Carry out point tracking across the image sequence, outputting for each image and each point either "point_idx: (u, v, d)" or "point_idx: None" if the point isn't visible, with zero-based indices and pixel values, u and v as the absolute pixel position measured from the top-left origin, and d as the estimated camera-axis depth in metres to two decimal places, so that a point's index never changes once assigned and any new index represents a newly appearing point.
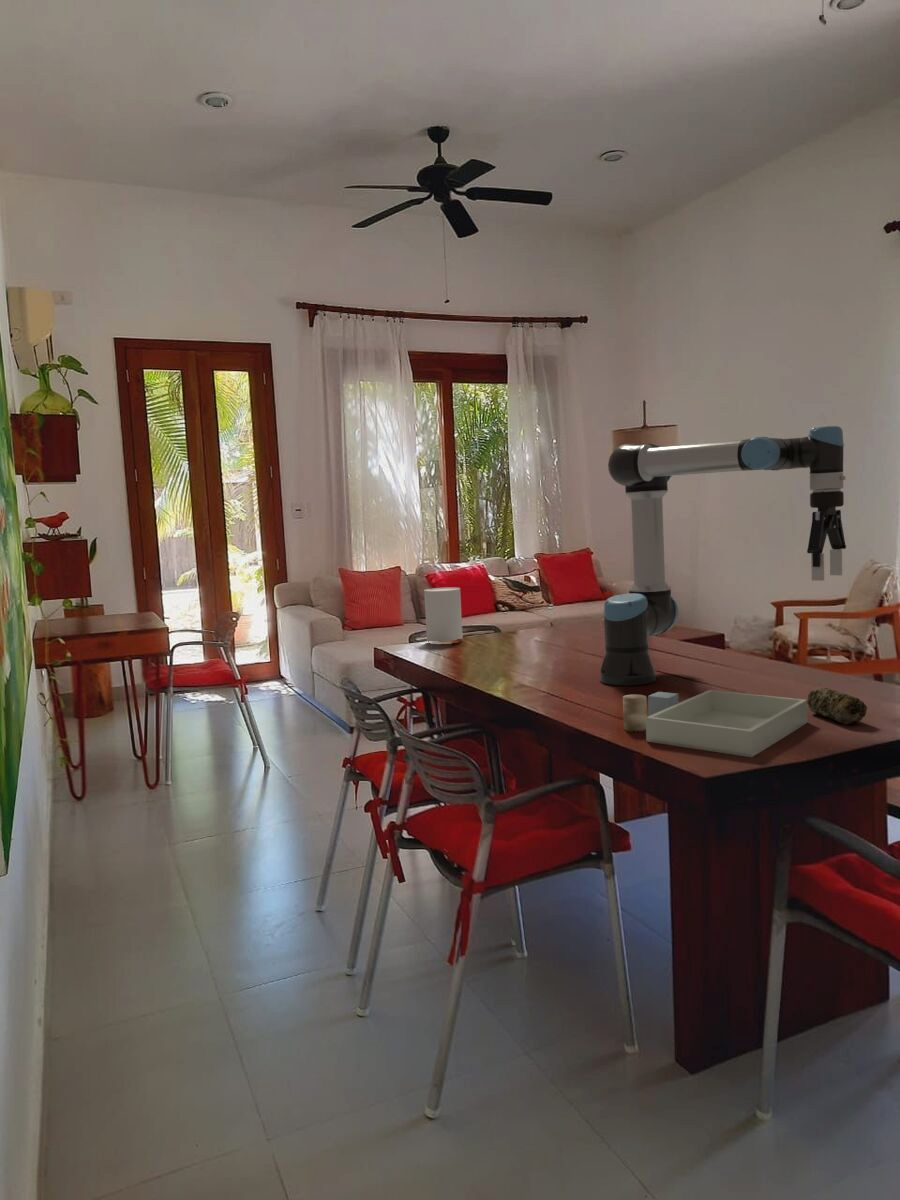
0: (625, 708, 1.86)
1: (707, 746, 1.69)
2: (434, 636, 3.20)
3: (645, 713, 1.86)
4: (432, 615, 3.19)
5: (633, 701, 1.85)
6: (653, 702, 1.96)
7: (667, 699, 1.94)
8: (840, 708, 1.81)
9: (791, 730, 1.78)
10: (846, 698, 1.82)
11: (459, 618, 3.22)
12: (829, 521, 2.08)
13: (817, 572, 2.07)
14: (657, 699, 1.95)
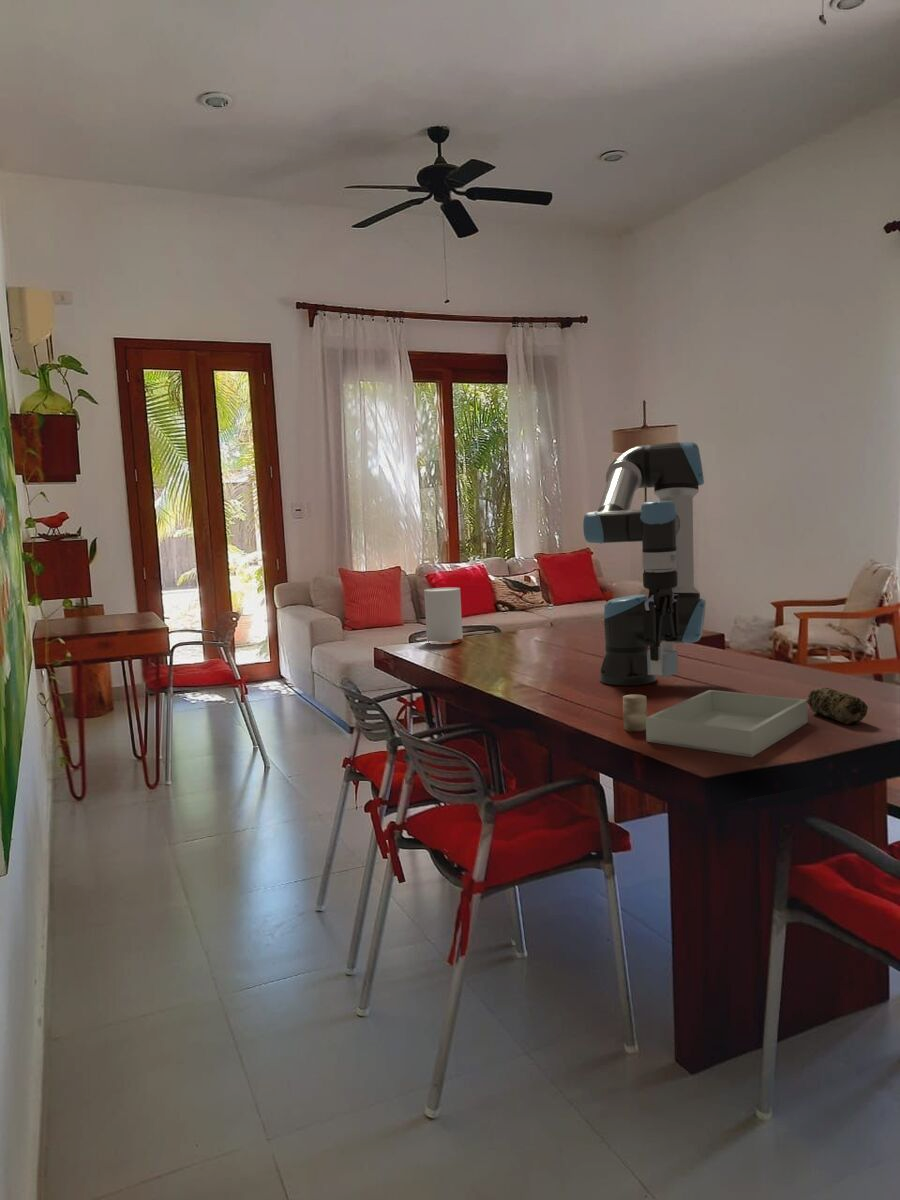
0: (625, 708, 1.86)
1: (707, 746, 1.69)
2: (434, 636, 3.20)
3: (645, 713, 1.86)
4: (432, 615, 3.19)
5: (633, 701, 1.85)
6: None
7: (666, 656, 1.93)
8: (841, 708, 1.81)
9: (791, 730, 1.78)
10: (847, 698, 1.82)
11: (459, 618, 3.22)
12: (662, 606, 1.93)
13: (655, 666, 1.94)
14: None
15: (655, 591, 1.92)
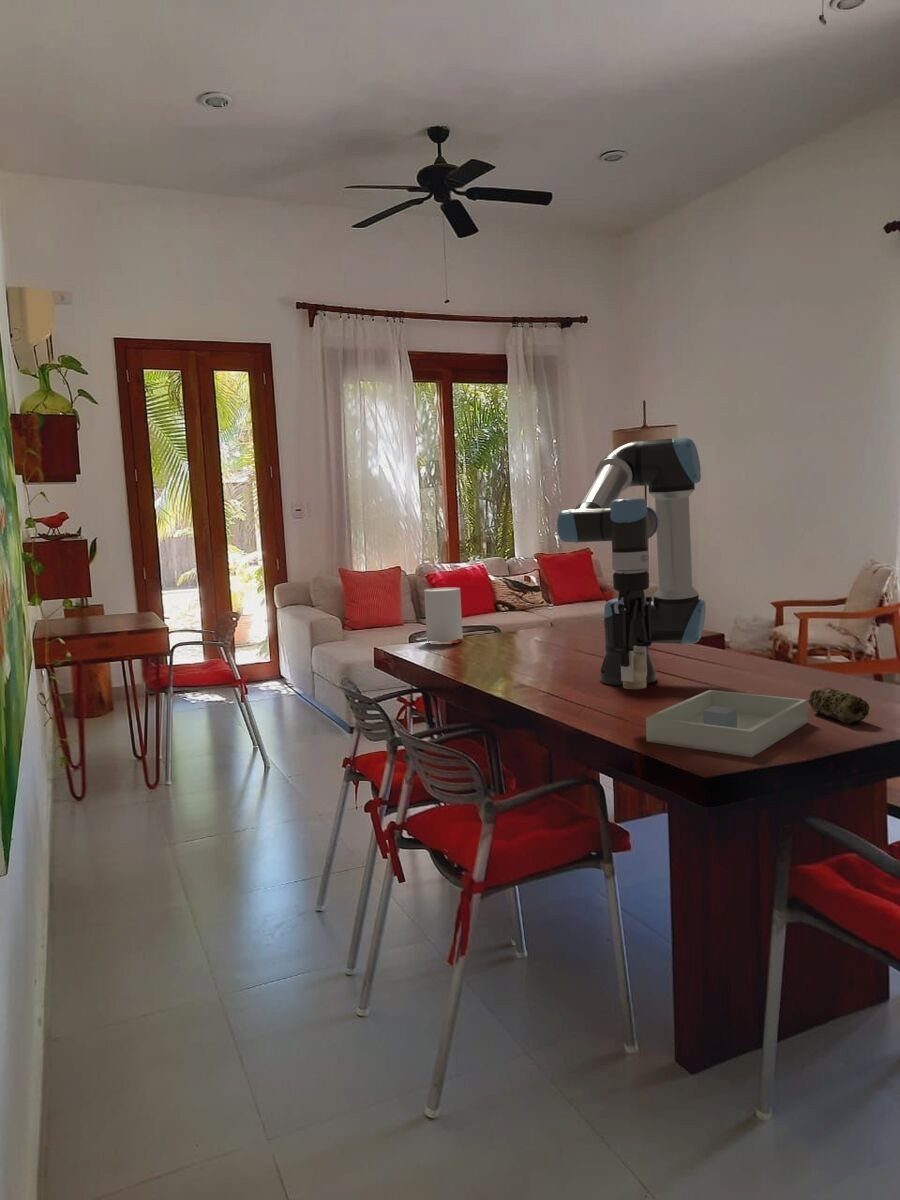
0: None
1: (707, 746, 1.69)
2: (434, 636, 3.20)
3: (644, 671, 1.85)
4: (432, 615, 3.19)
5: None
6: None
7: (703, 712, 1.78)
8: (843, 707, 1.81)
9: (791, 730, 1.78)
10: (849, 697, 1.82)
11: (459, 618, 3.22)
12: (632, 609, 1.83)
13: (626, 672, 1.85)
14: None
15: (625, 593, 1.82)
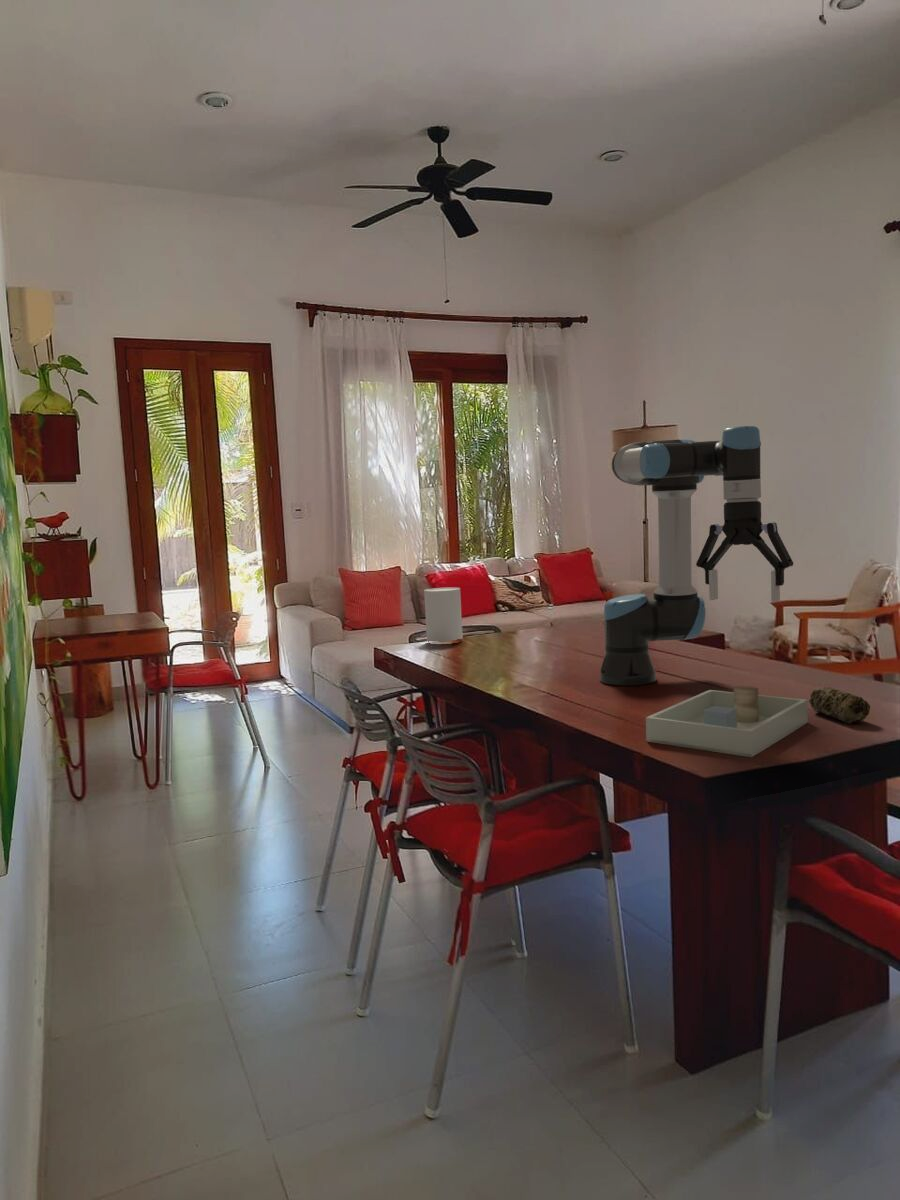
0: None
1: (707, 746, 1.69)
2: (434, 636, 3.20)
3: (742, 705, 1.86)
4: (432, 615, 3.19)
5: None
6: None
7: (703, 712, 1.78)
8: (844, 707, 1.81)
9: (791, 730, 1.78)
10: (849, 697, 1.82)
11: (459, 618, 3.22)
12: (727, 536, 1.85)
13: None
14: None
15: None
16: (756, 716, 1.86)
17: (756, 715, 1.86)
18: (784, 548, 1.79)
